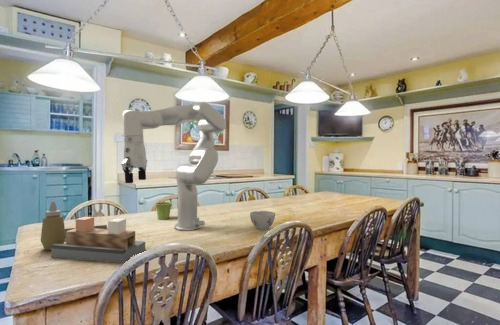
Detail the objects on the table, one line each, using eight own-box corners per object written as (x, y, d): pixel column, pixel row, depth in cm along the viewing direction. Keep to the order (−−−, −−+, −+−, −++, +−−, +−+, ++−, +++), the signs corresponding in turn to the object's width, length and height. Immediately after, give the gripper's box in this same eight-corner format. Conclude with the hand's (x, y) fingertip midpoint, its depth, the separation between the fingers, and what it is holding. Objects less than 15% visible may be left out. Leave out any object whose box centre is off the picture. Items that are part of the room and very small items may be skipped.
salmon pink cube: (94, 228, 109) (94, 217, 108) (85, 232, 104) (85, 219, 104) (84, 228, 109) (84, 216, 109) (75, 231, 105) (75, 219, 105)
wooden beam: (135, 244, 106) (135, 231, 106) (125, 249, 100) (125, 235, 100) (78, 240, 111) (78, 227, 111) (66, 244, 105) (66, 231, 105)
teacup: (280, 229, 142) (280, 213, 141) (262, 233, 133) (262, 216, 133) (259, 223, 153) (259, 208, 153) (241, 227, 145) (241, 211, 145)
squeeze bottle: (48, 244, 114) (48, 199, 113) (70, 244, 115) (69, 199, 114) (35, 251, 106) (34, 203, 105) (58, 251, 107) (58, 203, 106)
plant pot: (165, 215, 169) (165, 201, 169) (175, 218, 163) (175, 203, 163) (151, 218, 161) (151, 203, 161) (162, 221, 156) (162, 205, 155)
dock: (145, 249, 110) (145, 238, 110) (122, 262, 96) (122, 250, 96) (81, 244, 115) (81, 234, 115) (51, 256, 101) (51, 244, 101)
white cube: (125, 231, 106) (125, 218, 106) (118, 234, 102) (118, 221, 102) (116, 230, 107) (116, 218, 107) (108, 233, 102) (108, 221, 102)
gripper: (130, 140, 110) (132, 184, 111) (152, 140, 127) (154, 178, 128) (112, 140, 111) (114, 184, 112) (137, 140, 128) (139, 178, 129)
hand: (136, 181), depth 120 cm, fingers open, 9 cm apart
